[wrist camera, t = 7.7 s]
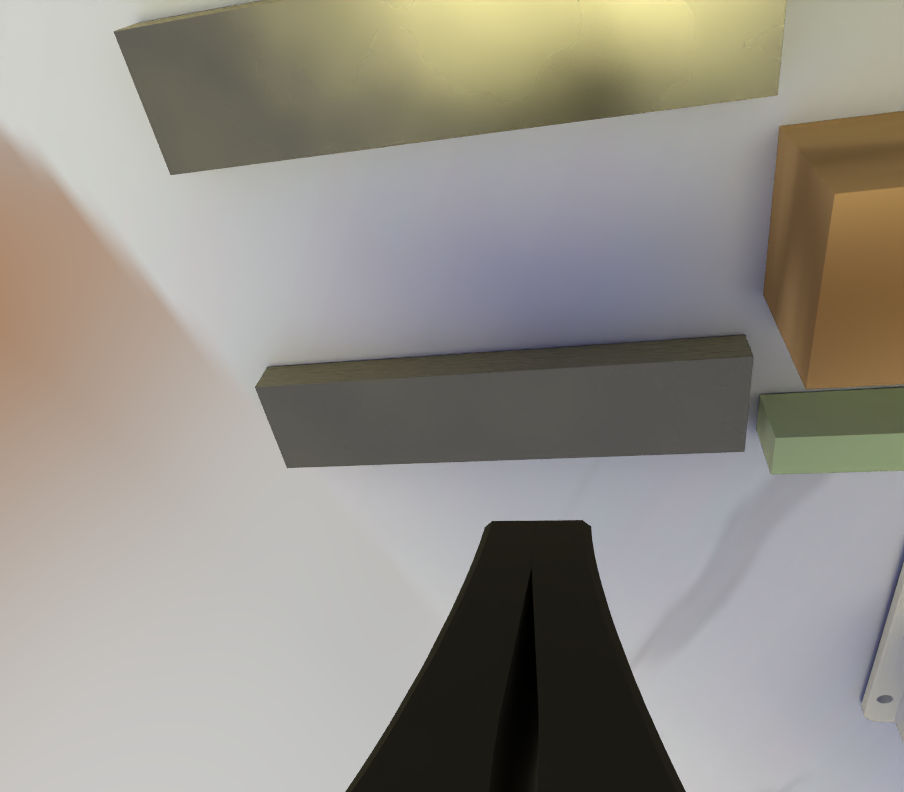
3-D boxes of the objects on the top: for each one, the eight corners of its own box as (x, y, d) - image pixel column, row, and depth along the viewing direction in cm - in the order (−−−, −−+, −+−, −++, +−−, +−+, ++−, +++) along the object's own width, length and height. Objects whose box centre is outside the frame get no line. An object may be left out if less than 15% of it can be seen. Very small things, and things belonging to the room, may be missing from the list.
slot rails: (737, 427, 20) (744, 451, 19) (297, 446, 22) (287, 467, 21) (780, -95, 13) (795, -93, 12) (137, 23, 15) (113, 31, 15)
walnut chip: (946, 278, 16) (1037, 377, 13) (762, 293, 17) (806, 388, 14) (994, 98, 14) (1115, 165, 11) (778, 124, 15) (834, 194, 12)
